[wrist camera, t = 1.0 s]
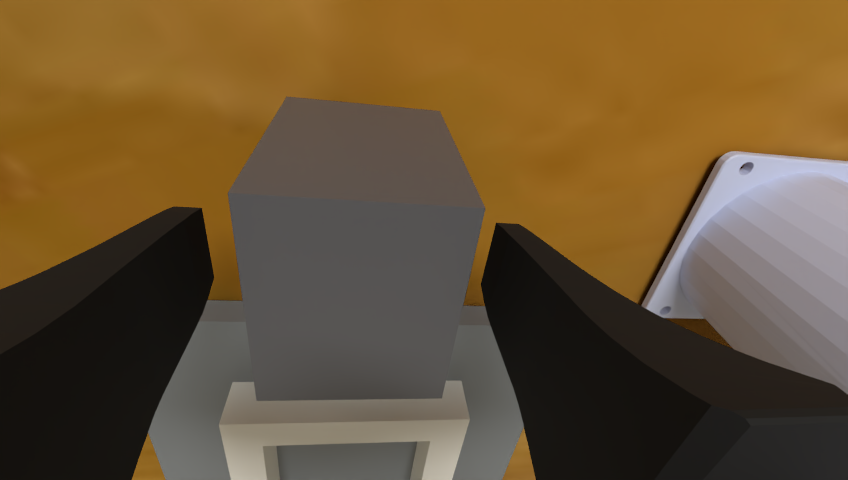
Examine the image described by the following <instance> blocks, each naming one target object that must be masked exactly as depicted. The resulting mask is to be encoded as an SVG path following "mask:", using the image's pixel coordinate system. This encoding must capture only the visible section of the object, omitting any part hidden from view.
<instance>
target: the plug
mask: <svg viewBox="0 0 848 480" xmlns="http://www.w3.org/2000/svg"><path fill="white" fill-rule="evenodd" d="M228 197H229V204H230V212H231V219H232V226H233V234H234V241H235V248H236V255H237V263H238V270H239V277H240V285H241V292H242V299H243V306H244V314H245V321H246V328H247V335H248V343H249V350H250V357H251V365H252V372H253V379H254V386H255V394H256V401H291V400H365V399H439V398H442V396H443V391H444V387H445V383H446V378H447V374H448V369H449V365H450V361H451V356H452V352H453V347H454V343H455V339H456V334H457V330H458V326H459V321H460V317H461V312H462V308H463V304H464V299H465V295H466V291H467V286H468V282H469V277H470V273H471V269H472V264H473V260H474V255H475V251H476V247H477V242H478V238H479V234H480V229H481V225H482V220H483V216H484V212H485V206H484V204H483V202H482V200H481V198H480V196H479V194H478V192H477V189H476V187H475V185H474V183H473V181H472V179H471V177H470V175H469V172H468V170H467V168H466V166H465V164H464V162H463V160H462V158H461V155H460V153H459V151H458V149H457V147H456V145H455V143H454V141H453V138H452V136H451V134H450V132H449V130H448V128H447V126H446V124H445V121H444V119H443V117H442V115H441V113H440V111H433V110H422V109H412V108H401V107H390V106H380V105H369V104H359V103H348V102H338V101H327V100H317V99H306V98H295V97H286V99H285V100H284V102H283V104H282V105H281V107H280V109H279V110H278V112H277V114H276V115H275V117H274V118H273V120H272V122H271V123H270V125H269V127H268V128H267V130H266V132H265V133H264V135H263V136H262V138H261V140H260V141H259V143H258V145H257V146H256V148H255V149H254V151H253V153H252V154H251V156H250V158H249V159H248V161H247V163H246V164H245V166H244V167H243V169H242V171H241V172H240V174H239V176H238V177H237V179H236V181H235V182H234V184H233V185H232V187H231V189H230V190H229V192H228Z"/></svg>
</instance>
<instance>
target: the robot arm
mask: <svg viewBox="0 0 848 480" xmlns="http://www.w3.org/2000/svg"><path fill="white" fill-rule="evenodd" d="M743 164H745V165H744V166H743V168H741V166H742V165H743ZM740 168H741V169H740ZM213 279H214V274H213V269H212V263H211V257H210V252H209V246H208V241H207V235H206V229H205V224H204V218H203V213H202V208H191V207H172V208H169V209H167V210H164V211H162V212H160V213H158V214H156V215H154V216H152V217H150V218H148V219H146V220H145V221H143V222H141V223H139V224H137V225H135V226H133V227H131V228H130V229H128V230H126V231H124V232H122V233H120V234H118V235H116V236H114V237H113V238H111V239H109V240H107V241H105V242H103V243H101V244H99V245H97V246H95V247H93V248H91V249H89V250H87V251H85V252H83V253H81V254H79V255H77V256H75V257H73V258H71V259H69V260H67V261H64V262H62V263H60V264H58V265H56V266H54V267H52V268H50V269H48V270H46V271H44V272H41V273H39V274H37V275H35V276H32V277H30V278H28V279H25V280H23V281H20V282H18V283H16V284H13V285H11V286H8V287H6V288H3V289H1V290H0V480H132V477H133V474H134V471H135V468H136V465H137V462H138V459H139V456H140V453H141V450H142V447H143V445H144V442H145V439H146V436H147V434H148V431H149V428H150V425H151V423H152V420H153V417H154V414H155V412H156V410H157V407H158V405H159V403H160V401H161V398H162V396H163V394H164V392H165V390H166V388H167V386H168V384H169V382H170V380H171V378H172V375H173V373H174V371H175V369H176V367H177V365H178V363H179V361H180V359H181V357H182V355H183V353H184V351H185V349H186V347H187V345H188V343H189V341H190V339H191V337H192V335H193V333H194V331H195V329H196V327H197V324H198V322H199V320H200V318H201V316H202V314H203V311H204V308H205V305H206V302H207V299H208V296H209V293H210V289H211V286H212V283H213ZM481 287H482V293H483V298H484V303H485V308H486V312H487V317H488V320H489V322H490V325H491V328H492V331H493V334H494V337H495V340H496V342H497V345H498V348H499V351H500V353H501V356H502V359H503V361H504V364H505V367H506V370H507V372H508V375H509V378H510V381H511V383H512V386H513V389H514V392H515V395H516V398H517V402H518V405H519V409H520V413H521V417H522V421H523V425H524V429H525V433H526V437H527V441H528V446H529V450H530V455H531V459H532V464H533V468H534V473H535V477H536V480H848V161H838V160H827V159H816V158H805V157H794V156H782V155H771V154H760V153H749V152H738V151H732V152H728V153H726V154H724V155H723V156H722V157H720V158H719V160H718V161H717V162H716V164H715V166H714V168H713V170H712V172H711V174H710V176H709V178H708V179H707V181H706V183H705V185H704V187H703V189H702V191H701V193H700V195H699V197H698V198H697V200H696V202H695V204H694V206H693V208H692V210H691V212H690V214H689V216H688V218H687V219H686V221H685V223H684V225H683V227H682V229H681V231H680V233H679V235H678V237H677V238H676V240H675V242H674V244H673V246H672V248H671V250H670V252H669V254H668V256H667V258H666V259H665V261H664V263H663V265H662V267H661V269H660V271H659V273H658V275H657V277H656V278H655V280H654V282H653V284H652V286H651V288H650V290H649V292H648V294H647V296H646V298H645V299H644V301H643V303H642V305H641V306H640V305H638V304H636V303H635V302H633V301H631V300H629V299H628V298H626V297H624V296H622V295H621V294H619V293H617V292H616V291H614V290H612V289H611V288H609V287H608V286H606V285H605V284H603V283H602V282H600V281H599V280H597V279H596V278H594V277H593V276H591V275H590V274H588V273H587V272H585V271H584V270H582V269H581V268H579V267H578V266H577V265H575V264H574V263H572V262H571V261H570V260H568V259H567V258H566V257H564V256H563V255H561V254H560V253H559V252H557V251H556V250H555V249H553V248H552V247H551V246H549V245H548V244H547V243H545V242H544V241H543V240H541V239H540V238H539V237H537V236H536V235H534V234H533V233H532V232H530V231H529V230H527V229H526V228H524V227H523V226H521V225H519V224H507V223H496V226H495V230H494V234H493V238H492V242H491V246H490V250H489V254H488V258H487V262H486V266H485V270H484V274H483V278H482V282H481ZM665 318H690V319H706V320H707V321H708V322H709V324H710V325H711V326H712V327H713V328H714V329H715V330H716V331H717V332H718V333H719V334H720V335H721V336H722V337H723V338H724V339H725V341H726V342H727V343H728V344H729V345H730V346H731V347H732V348H733V349H732V348H729V347H727V346H724V345H722V344H719V343H717V342H715V341H712V340H710V339H708V338H705V337H703V336H701V335H698V334H696V333H694V332H692V331H690V330H688V329H685V328H683V327H681V326H679V325H677V324H675V323H673V322H671V321H668V320H666V319H665Z"/></svg>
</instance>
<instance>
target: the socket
mask: <svg viewBox="0 0 848 480" xmlns="http://www.w3.org/2000/svg"><path fill="white" fill-rule="evenodd" d="M523 427H524V425H523V421H522V417H521V413H520V409H519V405H518V402H517V398H516V395H515V392H514V389H513V386H512V383H511V381H510V378H509V375H508V372H507V370H506V367H505V364H504V361H503V359H502V356H501V353H500V351H499V348H498V345H497V342H496V340H495V337H494V334H493V331H492V328H491V325H490V322H489V320H488V317H487V312H486V308H485V306H463V308H462V312H461V317H460V321H459V326H458V330H457V334H456V339H455V343H454V347H453V352H452V356H451V361H450V365H449V369H448V374H447V378H446V383H445V387H444V391H443V396H442V398H439V399H365V400H291V401H256V394H255V386H254V379H253V372H252V365H251V357H250V350H249V343H248V335H247V328H246V321H245V314H244V306H243V301H220V300H207V302H206V305H205V308H204V311H203V314H202V316H201V318H200V320H199V322H198V324H197V327H196V329H195V331H194V333H193V335H192V337H191V339H190V341H189V343H188V345H187V347H186V349H185V351H184V353H183V355H182V357H181V359H180V361H179V363H178V365H177V367H176V369H175V371H174V373H173V375H172V378H171V380H170V382H169V384H168V386H167V388H166V390H165V392H164V394H163V396H162V398H161V401H160V403H159V405H158V407H157V410H156V412H155V414H154V417H153V420H152V423H151V425H150V428H149V431H148V433H149V436H150V439H151V441H152V444H153V447H154V449H155V452H156V455H157V457H158V460H159V463H160V465H161V468H162V471H163V473H164V476H165V479H166V480H502V478H503V476H504V473H505V471H506V468H507V466H508V464H509V461H510V459H511V456H512V454H513V451H514V449H515V447H516V444H517V442H518V439H519V437H520V434H521V432H522V430H523Z"/></svg>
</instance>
